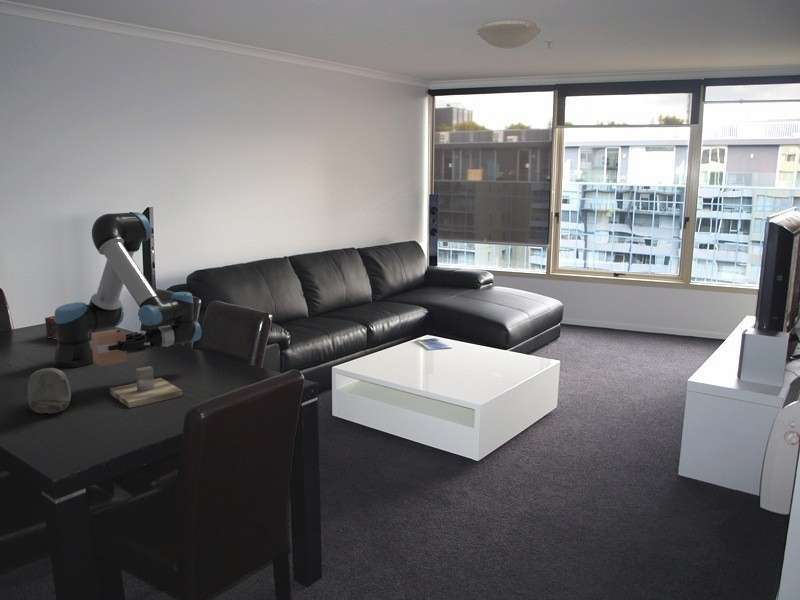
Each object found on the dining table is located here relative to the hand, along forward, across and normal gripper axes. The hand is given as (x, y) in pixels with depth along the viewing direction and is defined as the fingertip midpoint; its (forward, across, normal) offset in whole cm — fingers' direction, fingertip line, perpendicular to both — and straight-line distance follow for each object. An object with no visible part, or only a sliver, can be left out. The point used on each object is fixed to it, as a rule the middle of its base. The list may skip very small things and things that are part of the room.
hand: (94, 347), depth 229 cm
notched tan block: (-5, 0, -6) cm, 8 cm away
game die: (-32, +43, -16) cm, 56 cm away
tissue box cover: (-18, +79, -17) cm, 83 cm away
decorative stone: (+18, -12, -15) cm, 26 cm away
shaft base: (-10, -18, -15) cm, 25 cm away
